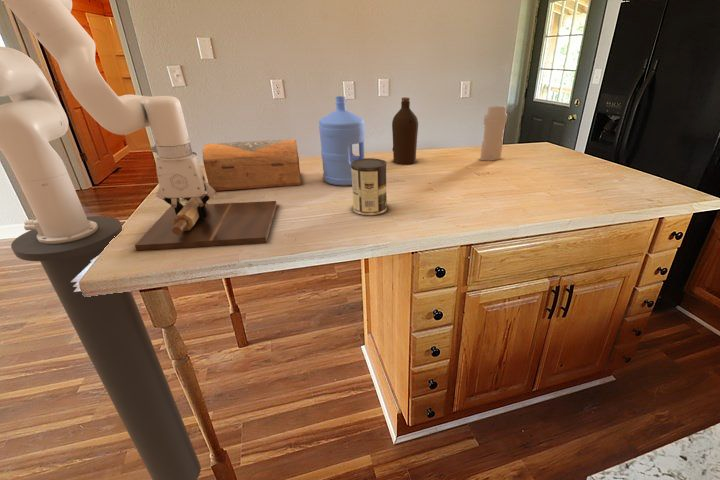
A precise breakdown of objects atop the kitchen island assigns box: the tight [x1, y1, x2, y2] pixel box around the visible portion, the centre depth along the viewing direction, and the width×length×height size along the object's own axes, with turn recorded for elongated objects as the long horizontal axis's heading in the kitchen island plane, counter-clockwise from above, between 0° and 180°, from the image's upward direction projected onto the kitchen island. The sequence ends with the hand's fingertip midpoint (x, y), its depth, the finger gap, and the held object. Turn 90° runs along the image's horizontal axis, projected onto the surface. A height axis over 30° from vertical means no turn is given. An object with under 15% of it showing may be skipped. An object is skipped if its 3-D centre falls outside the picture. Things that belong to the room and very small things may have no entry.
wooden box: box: [202, 139, 302, 192], centre depth 137 cm, size 30×16×14 cm, turn 105°
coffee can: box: [351, 157, 388, 216], centre depth 115 cm, size 10×10×14 cm
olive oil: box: [391, 97, 419, 165], centre depth 160 cm, size 11×11×25 cm
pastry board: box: [134, 200, 278, 252], centre depth 107 cm, size 30×26×2 cm
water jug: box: [318, 96, 366, 187], centre depth 136 cm, size 16×16×28 cm
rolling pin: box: [172, 193, 208, 235], centre depth 104 cm, size 4×24×4 cm, turn 10°
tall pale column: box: [479, 104, 508, 161], centre depth 165 cm, size 11×4×22 cm, turn 106°
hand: (193, 219), depth 105 cm, fingers closed on rolling pin, 4 cm apart
